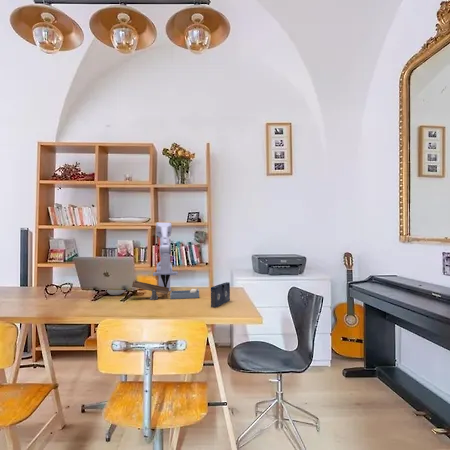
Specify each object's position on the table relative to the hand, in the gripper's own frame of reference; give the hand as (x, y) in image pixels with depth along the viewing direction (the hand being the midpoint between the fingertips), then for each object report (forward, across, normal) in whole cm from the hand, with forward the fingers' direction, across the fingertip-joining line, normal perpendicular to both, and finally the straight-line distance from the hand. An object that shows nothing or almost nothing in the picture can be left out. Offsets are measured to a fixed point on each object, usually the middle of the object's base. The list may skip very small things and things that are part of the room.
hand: (165, 287), depth 204 cm
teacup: (+4, -31, +6) cm, 32 cm away
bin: (+4, +11, -10) cm, 15 cm away
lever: (-1, -8, -5) cm, 10 cm away
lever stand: (+4, -6, -10) cm, 12 cm away
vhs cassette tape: (+4, +29, -30) cm, 42 cm away
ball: (+2, +16, -10) cm, 19 cm away
